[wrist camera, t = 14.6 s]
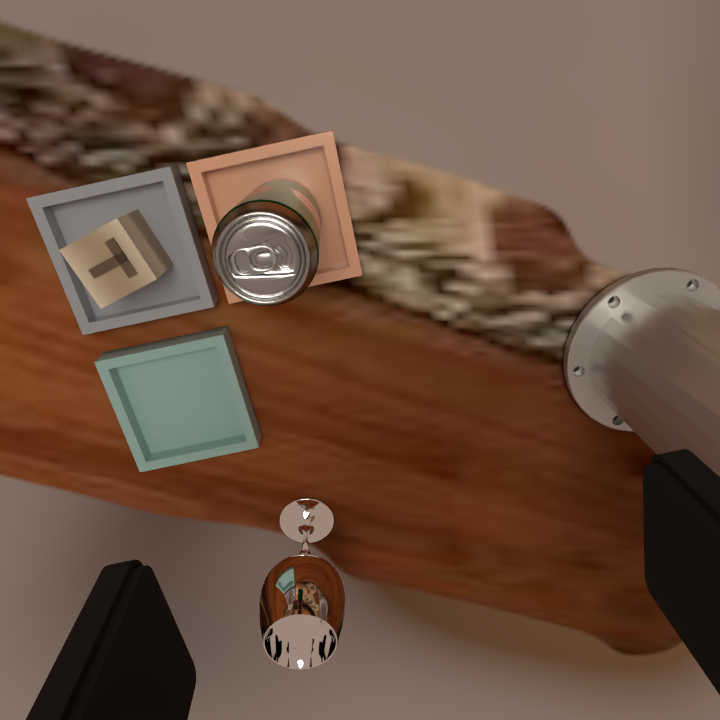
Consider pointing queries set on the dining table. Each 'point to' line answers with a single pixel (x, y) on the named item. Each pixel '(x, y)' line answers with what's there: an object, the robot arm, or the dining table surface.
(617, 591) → the dining table surface
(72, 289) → the tray slate
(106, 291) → the letter cube
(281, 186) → the soda can
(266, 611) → the wineglass
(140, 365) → the tray teal
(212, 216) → the tray terracotta
